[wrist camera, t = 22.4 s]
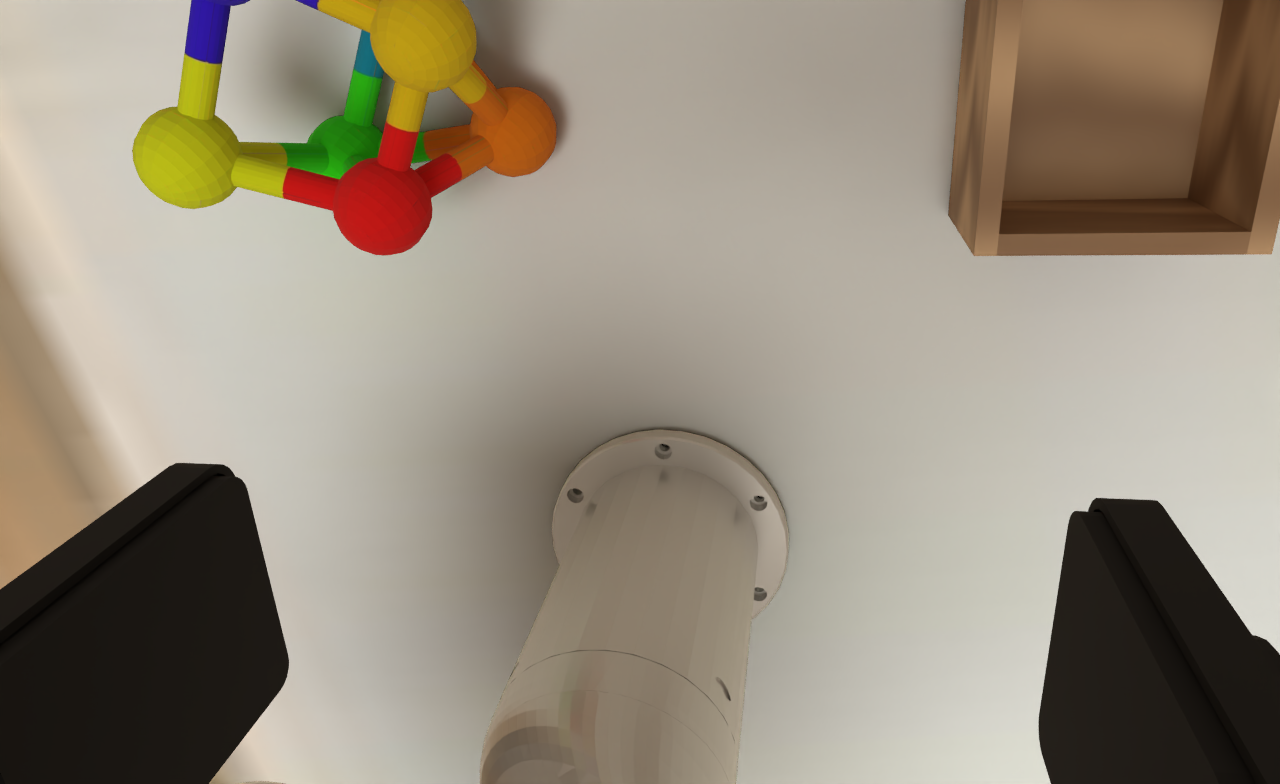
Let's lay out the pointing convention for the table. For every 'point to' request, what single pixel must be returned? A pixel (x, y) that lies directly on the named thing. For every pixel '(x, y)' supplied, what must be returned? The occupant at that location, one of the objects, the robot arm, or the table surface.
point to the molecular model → (351, 126)
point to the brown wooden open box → (1118, 127)
